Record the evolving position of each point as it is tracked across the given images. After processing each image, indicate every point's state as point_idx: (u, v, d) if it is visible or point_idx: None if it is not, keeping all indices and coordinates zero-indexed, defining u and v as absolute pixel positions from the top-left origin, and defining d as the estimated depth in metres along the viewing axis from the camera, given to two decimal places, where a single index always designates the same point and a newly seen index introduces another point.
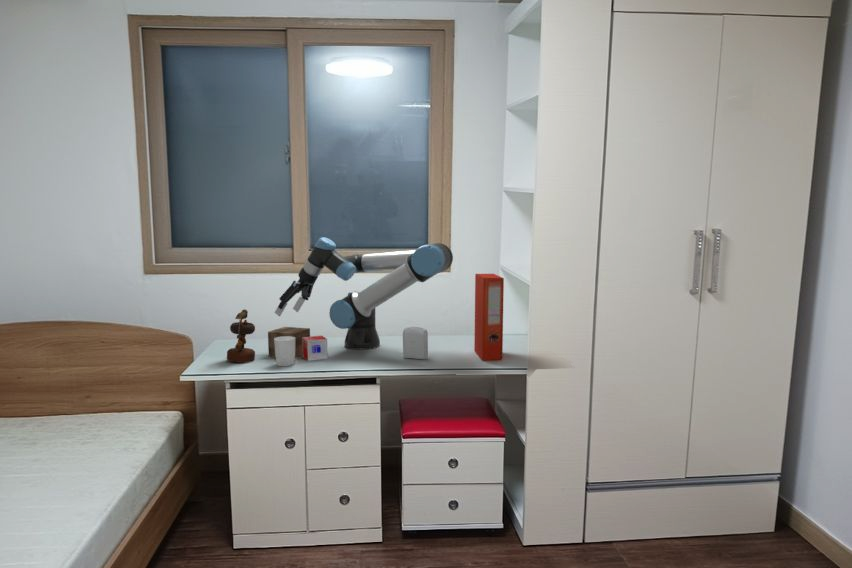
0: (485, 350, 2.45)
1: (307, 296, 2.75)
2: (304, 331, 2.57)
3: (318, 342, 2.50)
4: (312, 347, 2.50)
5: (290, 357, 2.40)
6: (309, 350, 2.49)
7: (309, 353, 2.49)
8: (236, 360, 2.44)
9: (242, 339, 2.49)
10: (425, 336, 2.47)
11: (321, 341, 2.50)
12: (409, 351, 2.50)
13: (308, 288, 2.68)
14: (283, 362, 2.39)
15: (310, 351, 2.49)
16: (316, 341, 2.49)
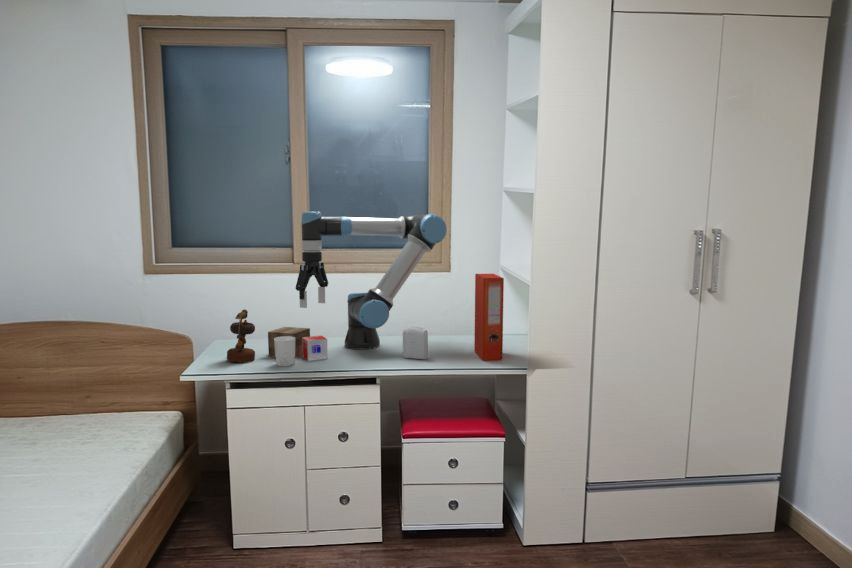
0: (485, 350, 2.45)
1: None
2: (304, 331, 2.57)
3: (318, 342, 2.50)
4: (312, 347, 2.50)
5: (290, 357, 2.40)
6: (309, 350, 2.49)
7: (309, 353, 2.49)
8: (236, 360, 2.44)
9: (242, 339, 2.49)
10: (425, 336, 2.47)
11: (321, 341, 2.50)
12: (409, 351, 2.50)
13: (320, 270, 2.52)
14: (283, 362, 2.39)
15: (310, 351, 2.49)
16: (316, 341, 2.49)
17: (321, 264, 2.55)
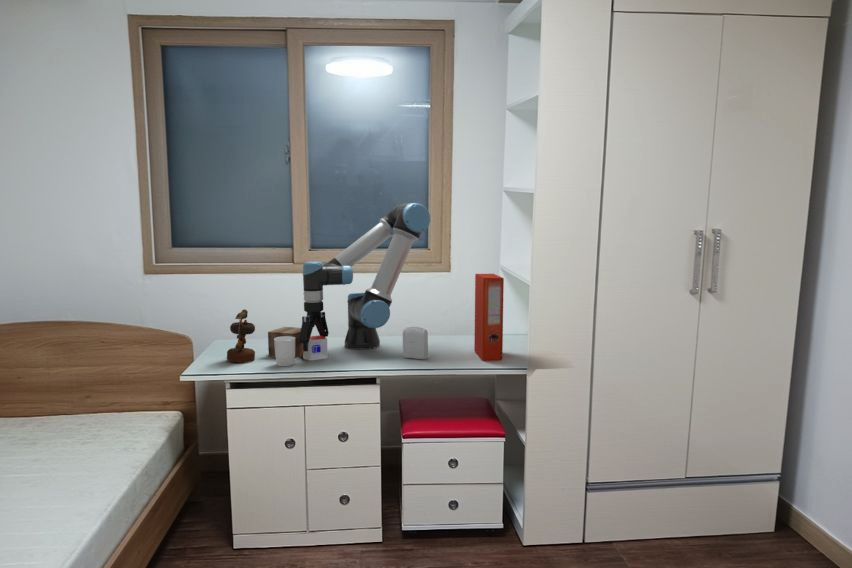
0: (485, 350, 2.45)
1: None
2: None
3: (318, 342, 2.50)
4: (312, 347, 2.50)
5: (290, 357, 2.40)
6: None
7: None
8: (236, 360, 2.44)
9: (242, 339, 2.49)
10: (425, 336, 2.47)
11: (321, 341, 2.50)
12: (409, 351, 2.50)
13: (321, 320, 2.54)
14: (283, 362, 2.39)
15: (310, 351, 2.49)
16: (316, 341, 2.49)
17: (322, 313, 2.56)
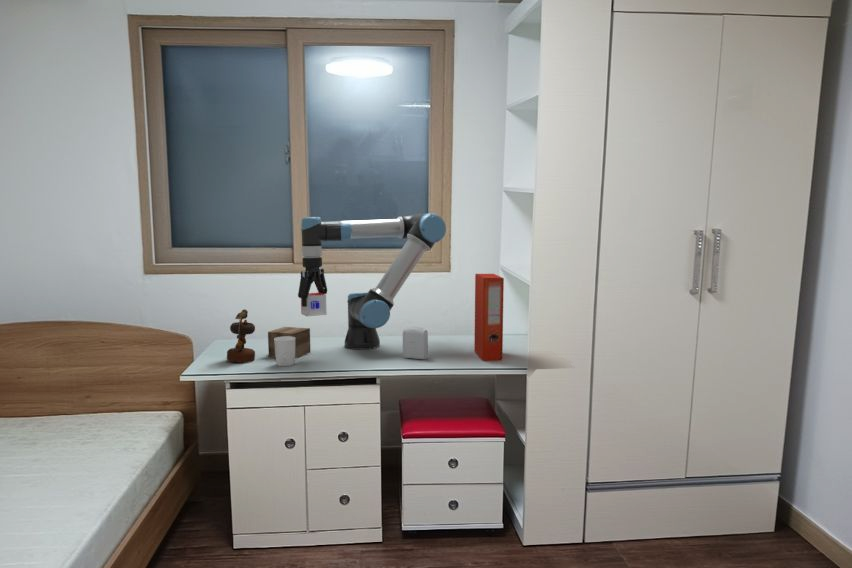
0: (485, 350, 2.45)
1: None
2: (304, 331, 2.57)
3: (317, 298, 2.48)
4: (311, 303, 2.48)
5: (290, 357, 2.40)
6: None
7: None
8: (236, 360, 2.44)
9: (242, 339, 2.49)
10: (425, 336, 2.47)
11: (320, 297, 2.49)
12: (409, 351, 2.50)
13: (320, 276, 2.52)
14: (283, 362, 2.39)
15: (309, 307, 2.47)
16: (315, 297, 2.47)
17: (321, 270, 2.54)
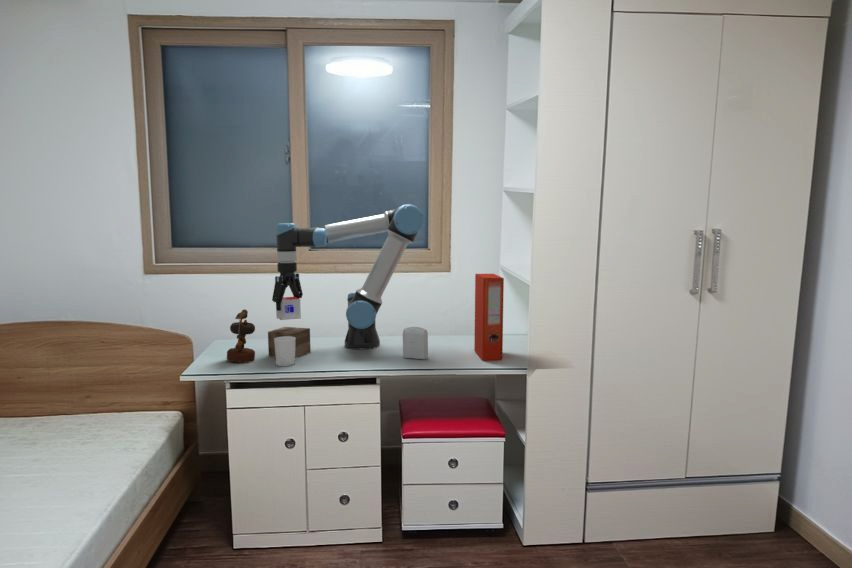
0: (485, 350, 2.45)
1: (299, 294, 2.63)
2: (304, 331, 2.57)
3: (291, 302, 2.54)
4: (285, 307, 2.54)
5: (290, 357, 2.40)
6: None
7: None
8: (236, 360, 2.44)
9: (242, 339, 2.49)
10: (425, 336, 2.47)
11: (294, 301, 2.54)
12: (409, 351, 2.50)
13: (295, 281, 2.58)
14: (283, 362, 2.39)
15: (283, 311, 2.53)
16: (289, 301, 2.53)
17: (296, 275, 2.60)
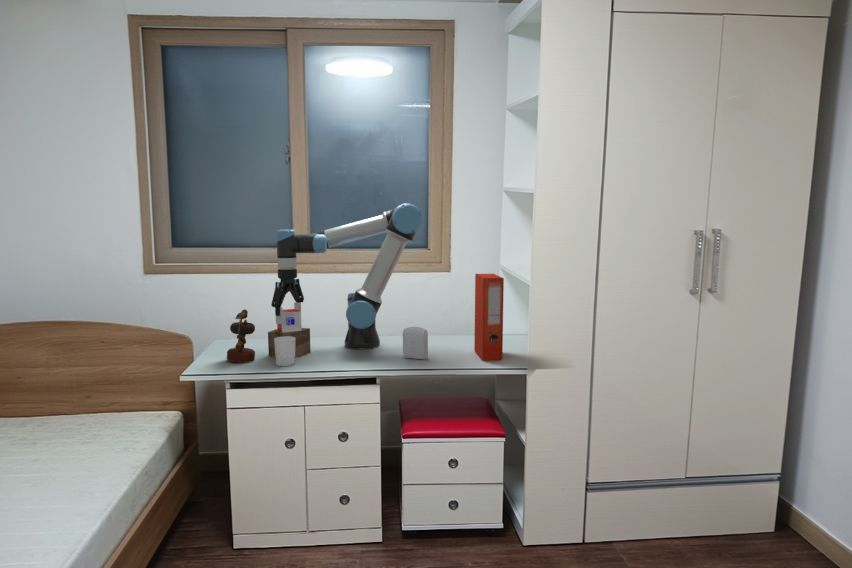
0: (485, 350, 2.45)
1: (301, 299, 2.64)
2: (304, 331, 2.57)
3: (292, 314, 2.55)
4: (286, 319, 2.55)
5: (290, 357, 2.40)
6: (283, 322, 2.53)
7: (283, 325, 2.53)
8: (236, 360, 2.44)
9: (242, 339, 2.49)
10: (425, 336, 2.47)
11: (295, 313, 2.55)
12: (409, 351, 2.50)
13: (295, 287, 2.58)
14: (283, 362, 2.39)
15: (284, 323, 2.54)
16: (290, 313, 2.54)
17: (296, 280, 2.61)
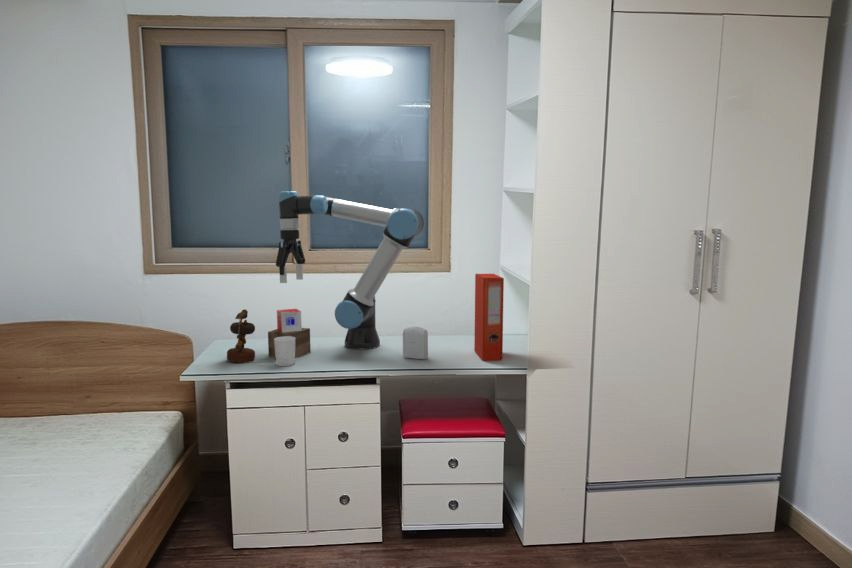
0: (485, 350, 2.45)
1: None
2: (304, 331, 2.57)
3: (292, 314, 2.55)
4: (286, 319, 2.55)
5: (290, 357, 2.40)
6: (283, 322, 2.53)
7: (283, 325, 2.53)
8: (236, 360, 2.44)
9: (242, 339, 2.49)
10: (425, 336, 2.47)
11: (295, 313, 2.55)
12: (409, 351, 2.50)
13: (297, 248, 2.64)
14: (283, 362, 2.39)
15: (284, 323, 2.54)
16: (290, 313, 2.54)
17: (298, 242, 2.66)
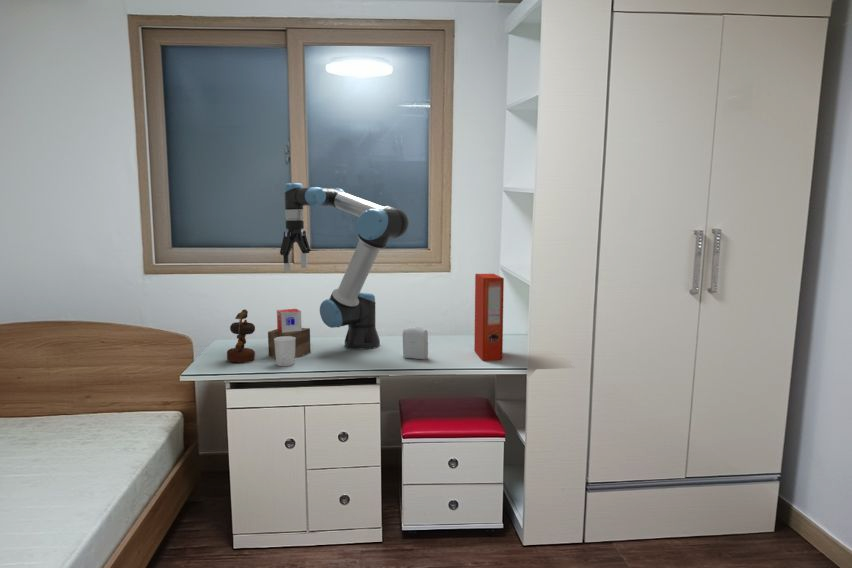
0: (485, 350, 2.45)
1: None
2: (304, 331, 2.57)
3: (292, 314, 2.55)
4: (286, 319, 2.55)
5: (290, 357, 2.40)
6: (283, 322, 2.53)
7: (283, 325, 2.53)
8: (236, 360, 2.44)
9: (242, 339, 2.49)
10: (425, 336, 2.47)
11: (295, 313, 2.55)
12: (409, 351, 2.50)
13: (302, 238, 2.76)
14: (283, 362, 2.39)
15: (284, 323, 2.54)
16: (290, 313, 2.54)
17: (303, 232, 2.78)
